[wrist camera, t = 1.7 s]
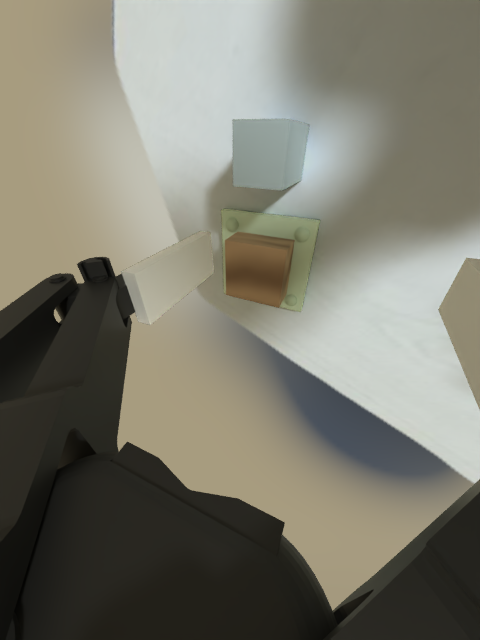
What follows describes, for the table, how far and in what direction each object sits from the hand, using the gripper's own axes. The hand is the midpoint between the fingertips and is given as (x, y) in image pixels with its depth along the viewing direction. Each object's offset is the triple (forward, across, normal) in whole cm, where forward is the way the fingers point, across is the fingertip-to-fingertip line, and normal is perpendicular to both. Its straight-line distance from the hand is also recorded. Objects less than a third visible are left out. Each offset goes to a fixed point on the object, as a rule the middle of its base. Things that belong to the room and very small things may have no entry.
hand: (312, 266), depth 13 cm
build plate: (+19, -9, -8) cm, 22 cm away
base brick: (+18, -9, -8) cm, 21 cm away
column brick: (+19, -7, +5) cm, 21 cm away
